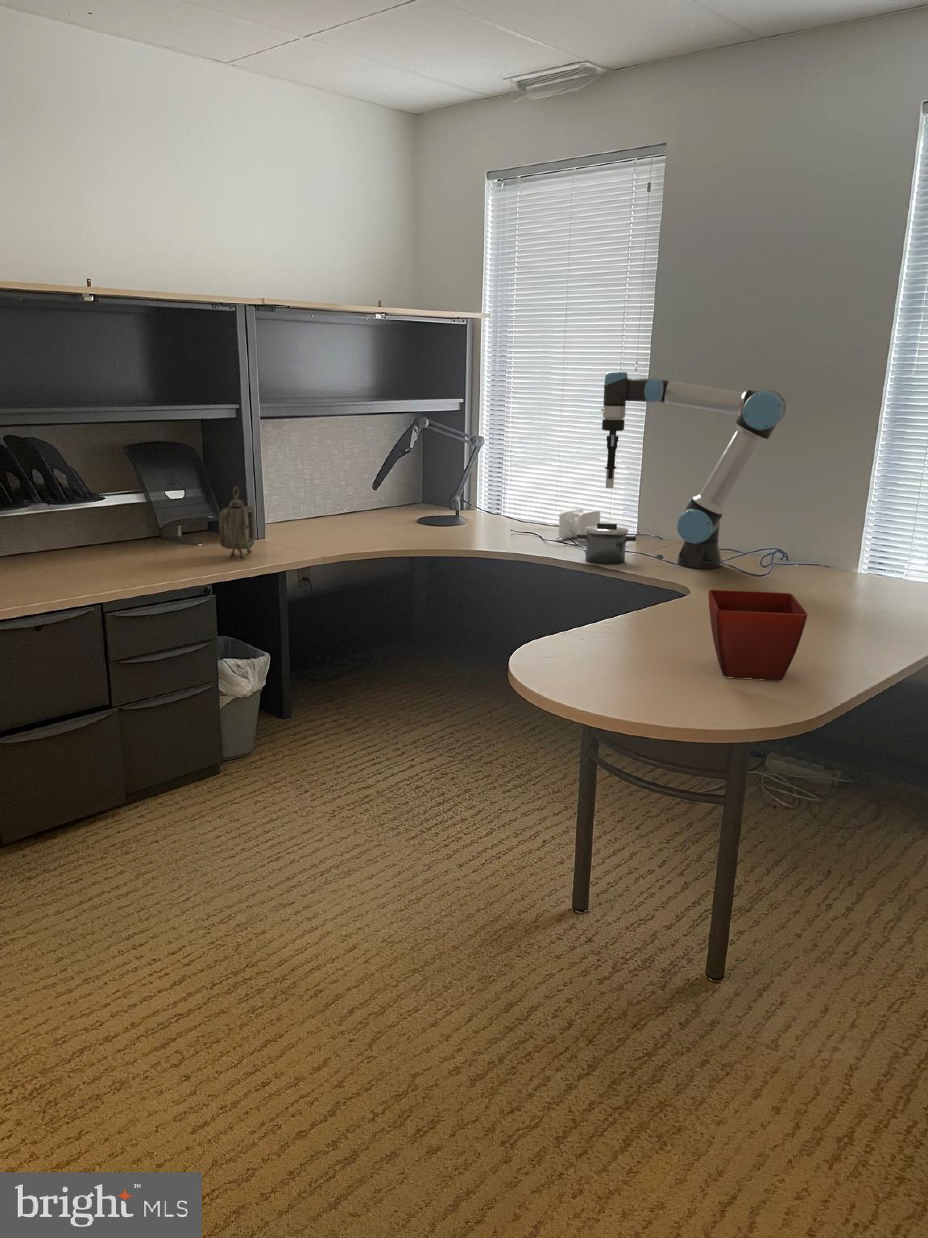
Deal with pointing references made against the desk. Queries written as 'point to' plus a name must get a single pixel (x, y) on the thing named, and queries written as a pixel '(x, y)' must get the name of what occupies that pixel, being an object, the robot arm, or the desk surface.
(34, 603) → the desk surface
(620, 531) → the lid
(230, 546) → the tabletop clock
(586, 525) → the cable organizer
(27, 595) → the desk surface
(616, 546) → the pot
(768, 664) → the plant pot
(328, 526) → the desk surface
